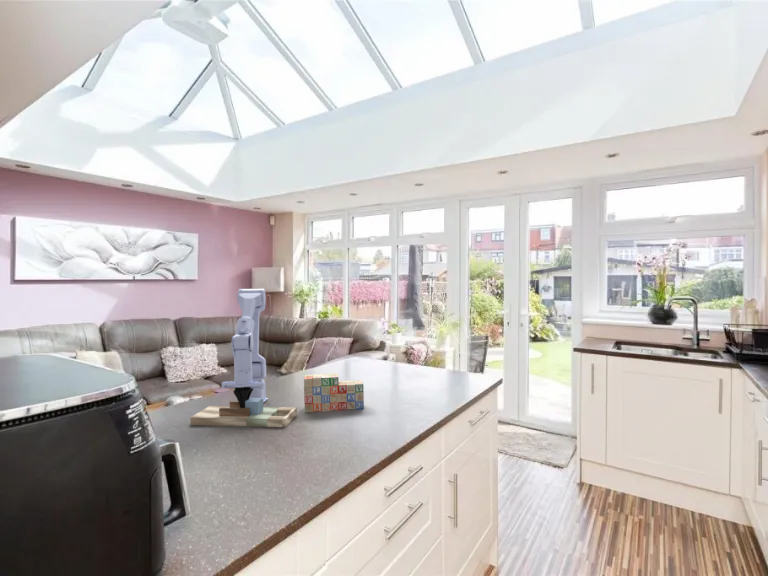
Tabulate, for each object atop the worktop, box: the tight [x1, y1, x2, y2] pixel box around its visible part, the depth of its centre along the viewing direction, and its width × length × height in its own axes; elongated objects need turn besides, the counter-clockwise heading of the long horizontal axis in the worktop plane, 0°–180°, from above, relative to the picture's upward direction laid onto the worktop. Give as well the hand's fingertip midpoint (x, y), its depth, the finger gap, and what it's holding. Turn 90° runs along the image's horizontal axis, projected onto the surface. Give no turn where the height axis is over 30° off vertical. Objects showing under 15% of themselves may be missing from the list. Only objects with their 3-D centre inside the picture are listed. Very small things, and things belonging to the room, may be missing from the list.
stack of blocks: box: [303, 372, 365, 413], centre depth 151 cm, size 21×6×12 cm, turn 97°
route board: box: [189, 400, 298, 428], centre depth 139 cm, size 12×32×5 cm, turn 85°
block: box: [245, 398, 264, 415], centre depth 139 cm, size 4×4×4 cm
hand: (243, 409), depth 139 cm, fingers closed
